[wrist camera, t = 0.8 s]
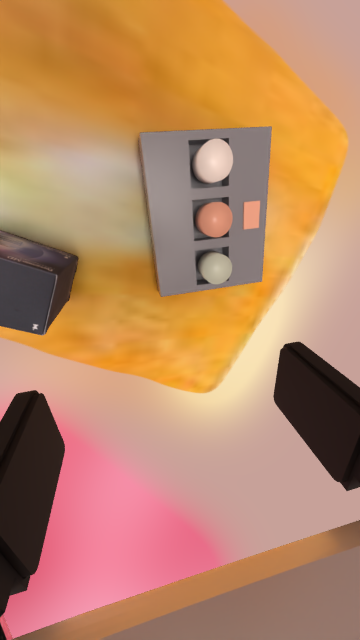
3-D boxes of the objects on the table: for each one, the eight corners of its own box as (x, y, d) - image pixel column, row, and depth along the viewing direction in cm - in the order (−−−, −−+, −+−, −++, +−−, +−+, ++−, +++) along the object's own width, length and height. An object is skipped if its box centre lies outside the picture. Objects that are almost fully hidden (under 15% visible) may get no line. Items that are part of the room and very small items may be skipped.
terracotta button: (194, 203, 27) (200, 203, 25) (224, 201, 28) (232, 200, 26) (196, 237, 29) (202, 239, 27) (224, 233, 30) (232, 235, 27)
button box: (138, 140, 26) (140, 132, 23) (257, 134, 28) (272, 125, 25) (157, 289, 33) (161, 297, 30) (251, 276, 35) (262, 281, 33)
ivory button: (191, 145, 25) (197, 139, 23) (223, 144, 26) (233, 137, 23) (193, 185, 27) (199, 182, 24) (223, 182, 27) (232, 179, 25)
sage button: (196, 252, 30) (202, 256, 28) (224, 249, 30) (232, 252, 28) (198, 281, 31) (204, 286, 29) (224, 277, 32) (232, 282, 30)
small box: (80, 253, 29) (60, 273, 20) (69, 301, 31) (46, 339, 22) (-22, 219, 26) (-103, 224, 17) (-27, 275, 28) (-103, 308, 19)
